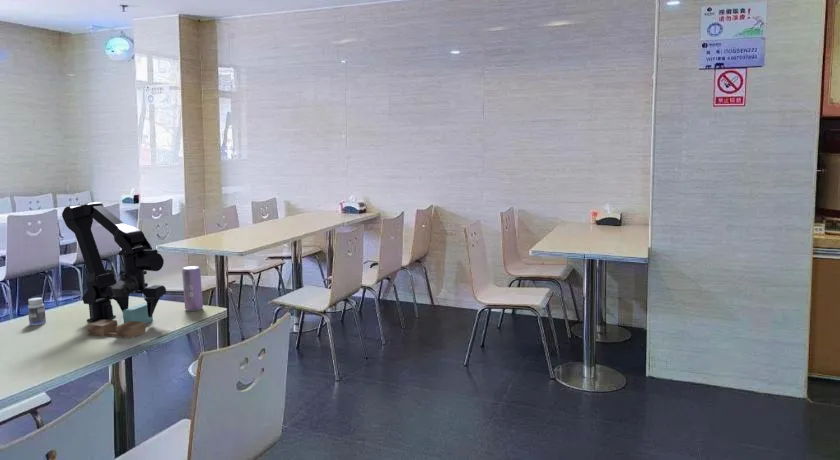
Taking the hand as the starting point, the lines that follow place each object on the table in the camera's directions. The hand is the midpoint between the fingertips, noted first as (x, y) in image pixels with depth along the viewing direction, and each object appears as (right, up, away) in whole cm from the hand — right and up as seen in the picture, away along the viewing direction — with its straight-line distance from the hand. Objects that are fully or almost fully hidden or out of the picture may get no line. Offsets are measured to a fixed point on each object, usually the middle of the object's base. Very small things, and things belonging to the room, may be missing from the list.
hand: (138, 316), depth 205 cm
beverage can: (+12, 0, +18) cm, 21 cm away
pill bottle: (-35, -3, +4) cm, 35 cm away
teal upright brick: (0, -3, 0) cm, 3 cm away
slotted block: (-2, -4, -9) cm, 10 cm away
